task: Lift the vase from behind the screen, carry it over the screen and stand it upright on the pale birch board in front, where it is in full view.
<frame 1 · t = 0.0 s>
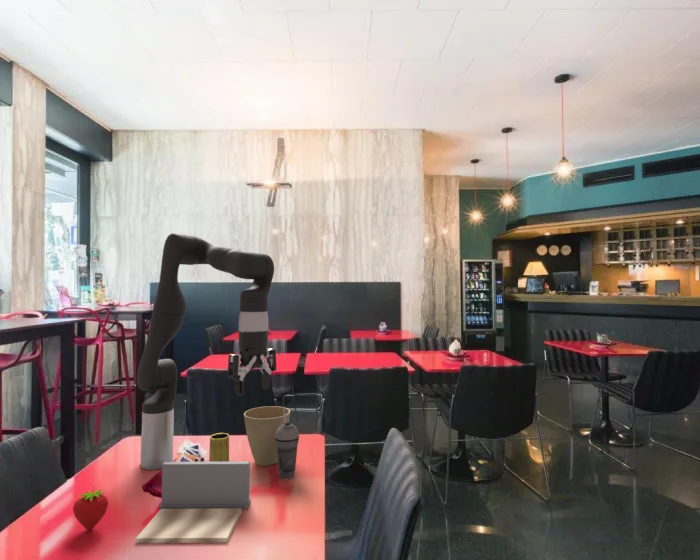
hand: (252, 391, 102), 29 cm above the table, tool pointing down, fingers open, 8 cm apart
strawberry: (90, 530, 92), on the table
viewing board: (192, 526, 93), on the table
beverage cup: (286, 476, 119), on the table
vase: (218, 487, 112), on the table
screen: (205, 506, 102), on the table
plant pot: (266, 461, 129), on the table
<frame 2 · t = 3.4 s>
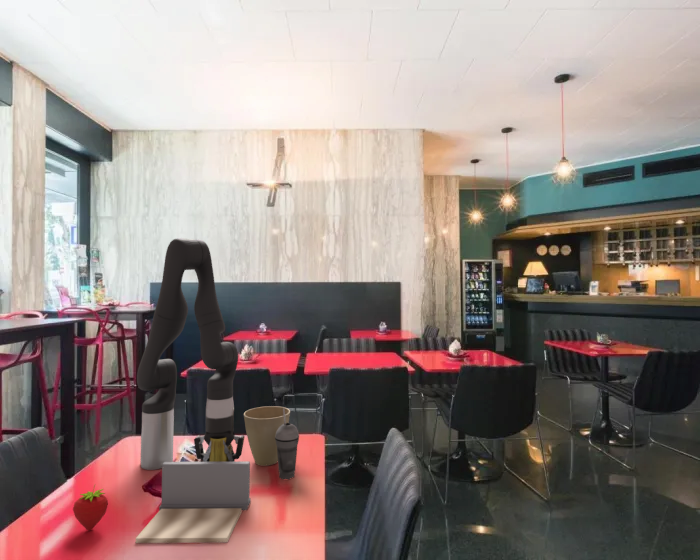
hand: (219, 473, 112), 4 cm above the table, tool pointing down, fingers closed on vase, 5 cm apart
vase: (218, 487, 112), on the table, touching gripper
everything else where it was.
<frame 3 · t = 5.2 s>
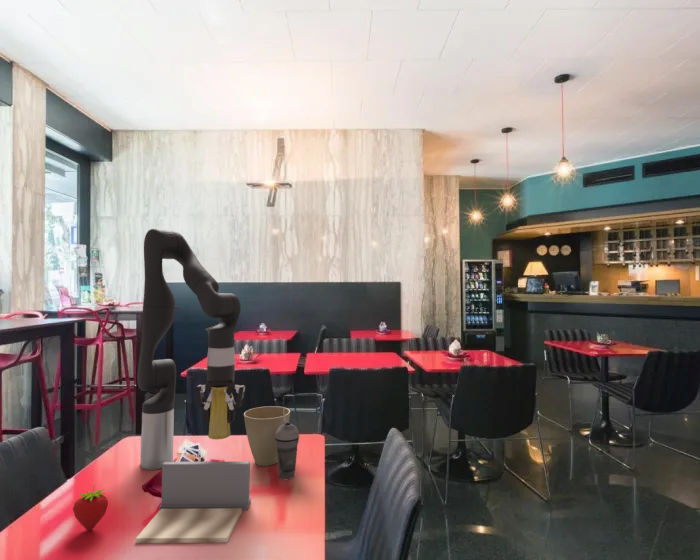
hand: (219, 421, 113), 18 cm above the table, tool pointing down, fingers closed on vase, 5 cm apart
vase: (219, 436, 113), point 14 cm above the table, touching gripper
everything else where it was.
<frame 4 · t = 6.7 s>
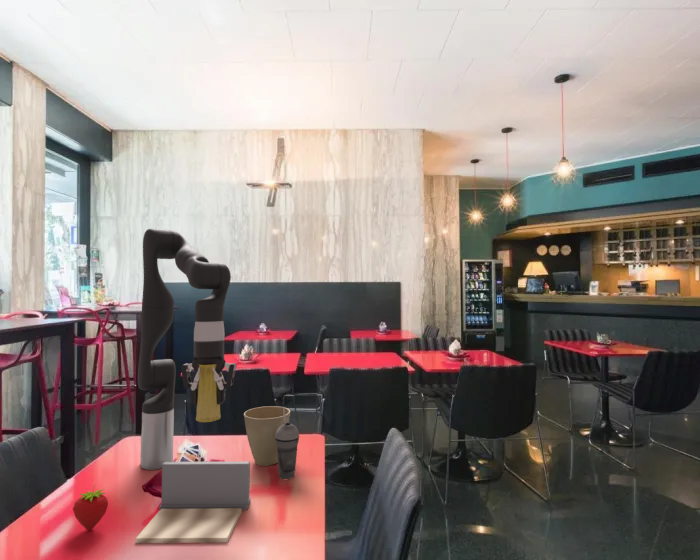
hand: (208, 403, 103), 26 cm above the table, tool pointing down, fingers closed on vase, 5 cm apart
vase: (208, 419, 102), point 22 cm above the table, touching gripper
everything else where it was.
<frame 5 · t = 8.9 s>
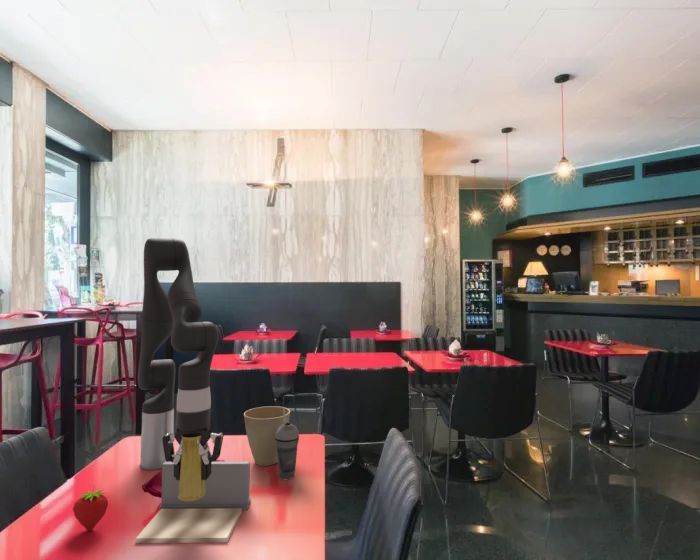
hand: (192, 478, 93), 11 cm above the table, tool pointing down, fingers closed on vase, 5 cm apart
vase: (192, 496, 93), point 7 cm above the table, touching gripper
everything else where it was.
when the fingers open (6 cm above the table, at t = 10.4 s): vase drops 1 cm, resting on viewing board.
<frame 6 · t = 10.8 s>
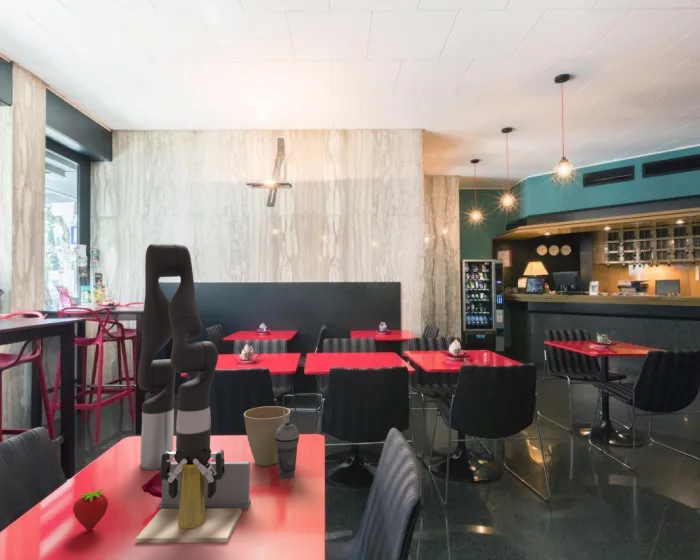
hand: (192, 496, 93), 7 cm above the table, tool pointing down, fingers open, 8 cm apart
vase: (192, 522, 93), point 1 cm above the table, touching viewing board
everything else where it was.
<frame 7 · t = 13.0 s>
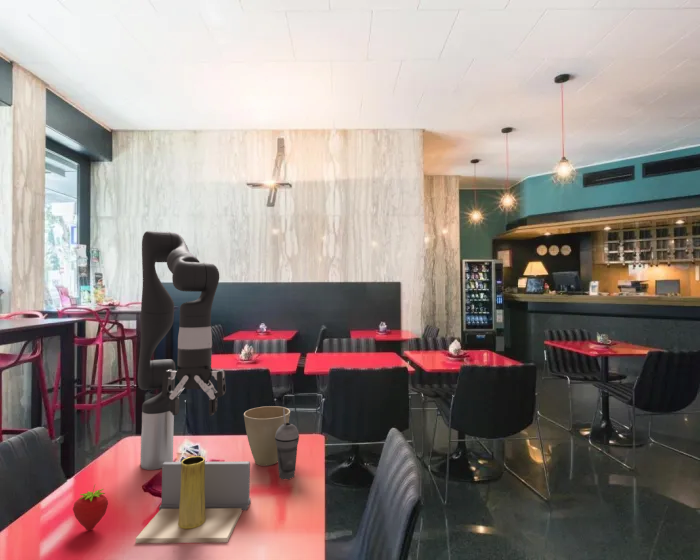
hand: (193, 414, 94), 26 cm above the table, tool pointing down, fingers open, 8 cm apart
nothing on the table moved.
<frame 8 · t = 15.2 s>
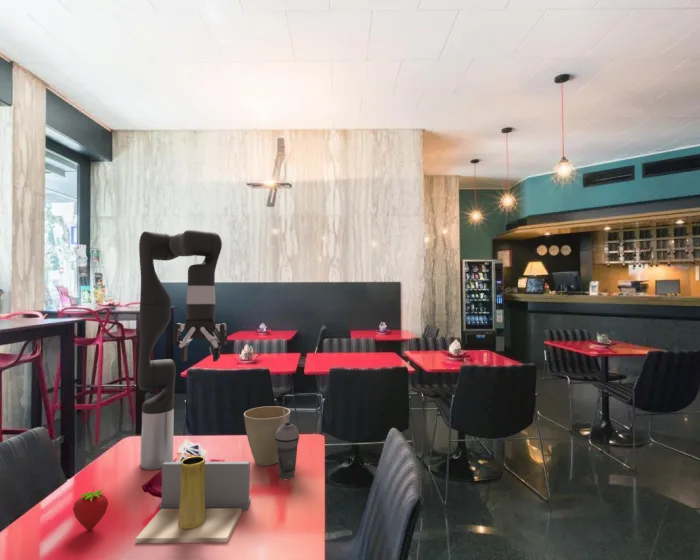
hand: (200, 361, 109), 36 cm above the table, tool pointing down, fingers open, 8 cm apart
nothing on the table moved.
at the end: vase 0.1 cm from the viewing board (horizontally); vase point 0.8 cm above the table; vase tilted 0° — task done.
